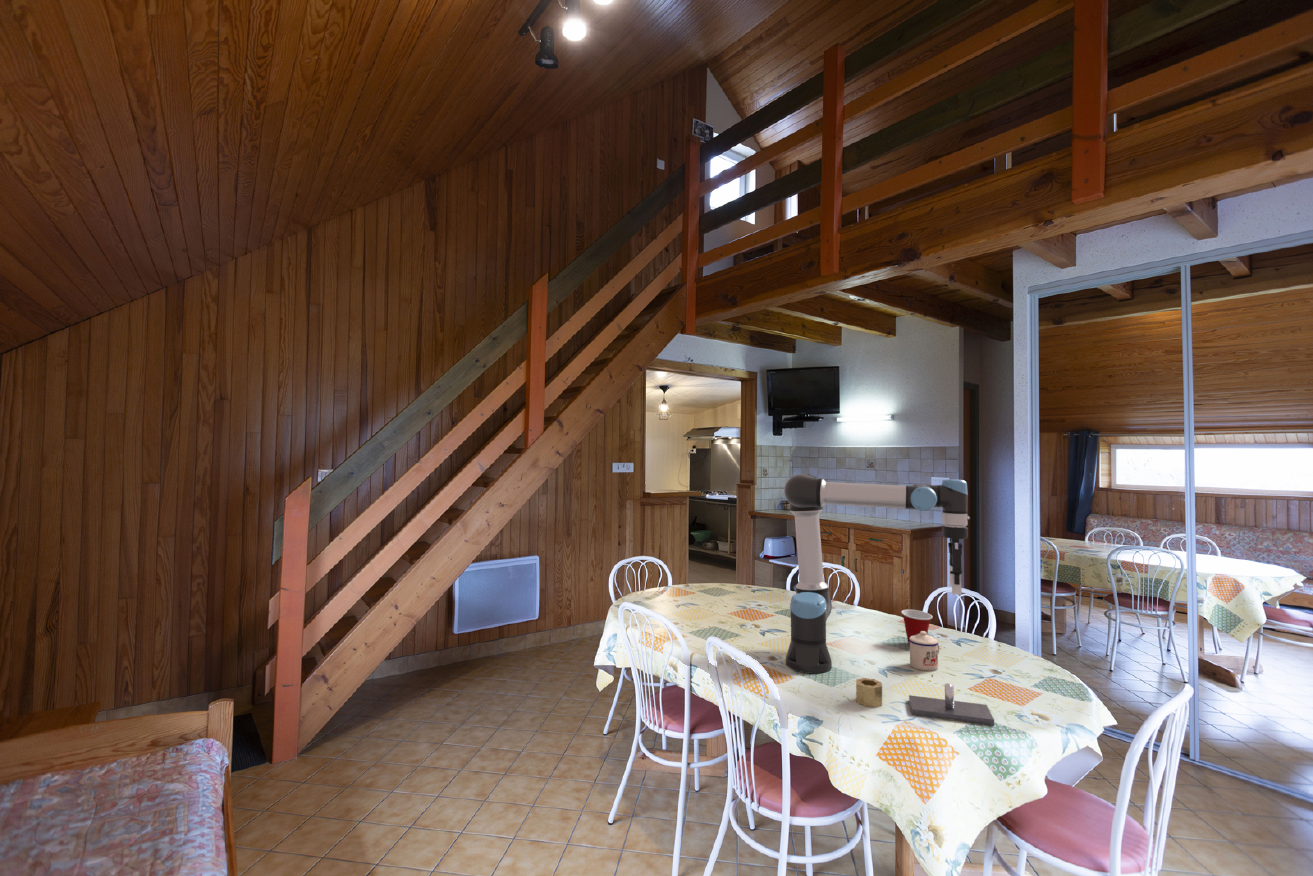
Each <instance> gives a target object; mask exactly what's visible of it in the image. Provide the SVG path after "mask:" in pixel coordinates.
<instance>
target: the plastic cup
mask: <svg viewBox="0 0 1313 876" xmlns="http://www.w3.org/2000/svg"><path fill="white" fill-rule="evenodd" d="M901 614H902V617H903V618H902V619H903V622H904V628H905V634H906V639H907V644H908V645H909V646H910V641H909V638H910V637H911V636H914V635H917V634H920V632H921V631H925V632H926V633H927V635H929V634H928V632H929V628H930V622H931V620H932V619H934V618H933V615H932V614H930V613H928V612H925V611H921V610H918V609H917V610H916V609H903V610H901Z"/></svg>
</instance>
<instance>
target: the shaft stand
mask: <svg viewBox="0 0 1313 876" xmlns="http://www.w3.org/2000/svg"><path fill="white" fill-rule="evenodd" d="M954 687H955V685H954V684H952V683H944V699H943V698H934V697H926V696H919V695H911V694H909V695H908V702H909V706H910V712H911V715H912V716H913V715H914V716H919V715H920V717H928V718H935V719H943V720H950V721H957V722H958V721H959V722H964V723H965V722H966V723H973V724H978V725H979V724H980V725H987V726H988V725H989V726H995V719H994V717H993V715H992V712H991V711H990V709H989V707H988V705H987V704H984V703H975V702H967V701H960V700H955V698H954V695H955V691H954V689H955V688H954Z"/></svg>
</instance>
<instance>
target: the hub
mask: <svg viewBox="0 0 1313 876" xmlns="http://www.w3.org/2000/svg"><path fill="white" fill-rule="evenodd" d="M855 685H856V686H855V688H856V689H855V697H856V699H855V700H856V701H855V702H856V703H857V704H859V705H860V706H863V707H868V708H879V707H883V683H882V682H881V681H879V680H877V679H875V678H867V677H862V678H857V679H855Z"/></svg>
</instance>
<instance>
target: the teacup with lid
mask: <svg viewBox="0 0 1313 876" xmlns="http://www.w3.org/2000/svg"><path fill="white" fill-rule="evenodd" d="M909 641H910V645H909V665H910V666H911V667H913V669H917V670H921V671H927V672H928V671H929V672H930V671H935V670H937V669H938V668H939V659H938V658H939V653H940V644H939V640H938V639H936V638H935V637H932V636H931V635H929V634H927V633H926V632H925V631H921V632H920V634H917V635H914V636H911V637H910V638H909Z"/></svg>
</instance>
